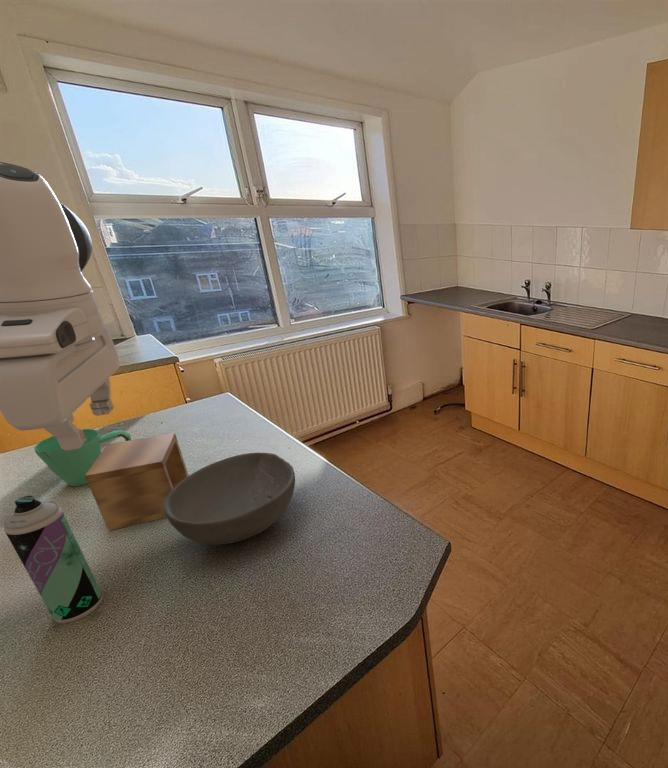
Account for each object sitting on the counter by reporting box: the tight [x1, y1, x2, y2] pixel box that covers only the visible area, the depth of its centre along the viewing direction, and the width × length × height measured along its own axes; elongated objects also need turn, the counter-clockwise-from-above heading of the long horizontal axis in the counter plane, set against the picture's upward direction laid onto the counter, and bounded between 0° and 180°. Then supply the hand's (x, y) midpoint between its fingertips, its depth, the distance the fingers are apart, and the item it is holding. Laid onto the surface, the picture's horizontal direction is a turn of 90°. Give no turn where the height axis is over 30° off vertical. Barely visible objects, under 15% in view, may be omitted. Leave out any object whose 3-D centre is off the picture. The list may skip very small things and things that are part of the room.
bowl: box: [164, 452, 296, 545], centre depth 80 cm, size 20×20×10 cm
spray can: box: [1, 495, 104, 624], centre depth 61 cm, size 6×6×20 cm
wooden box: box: [85, 432, 190, 531], centre depth 85 cm, size 11×12×12 cm
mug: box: [33, 428, 132, 487], centre depth 94 cm, size 15×10×10 cm
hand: (90, 428), depth 54 cm, fingers open, 8 cm apart
